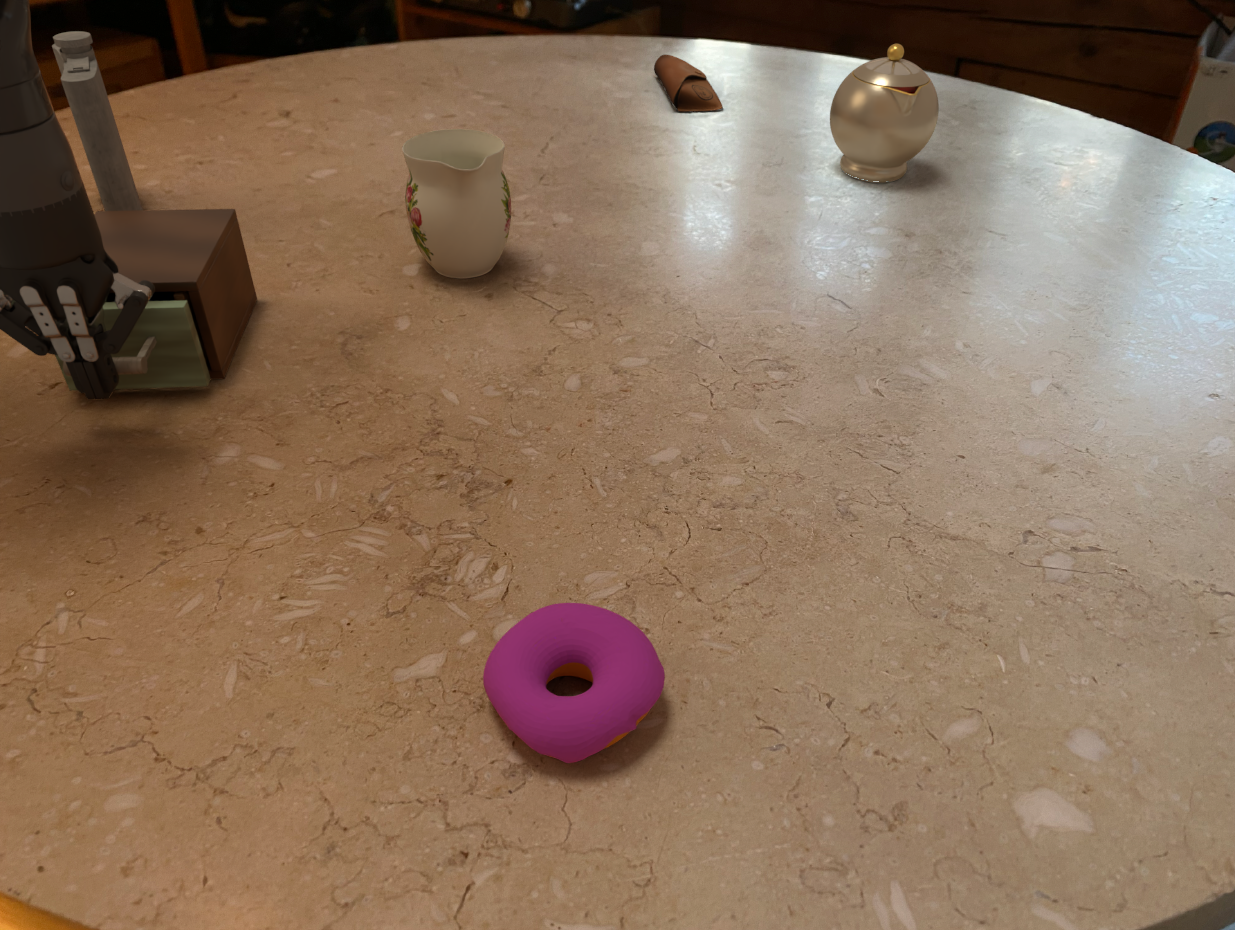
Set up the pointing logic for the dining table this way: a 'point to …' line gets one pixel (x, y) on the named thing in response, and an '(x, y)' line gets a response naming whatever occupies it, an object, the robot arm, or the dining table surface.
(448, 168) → the pitcher
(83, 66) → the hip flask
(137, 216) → the cabinet
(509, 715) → the donut
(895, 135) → the teapot
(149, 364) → the compartment
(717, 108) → the sunglasses case
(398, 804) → the dining table surface
